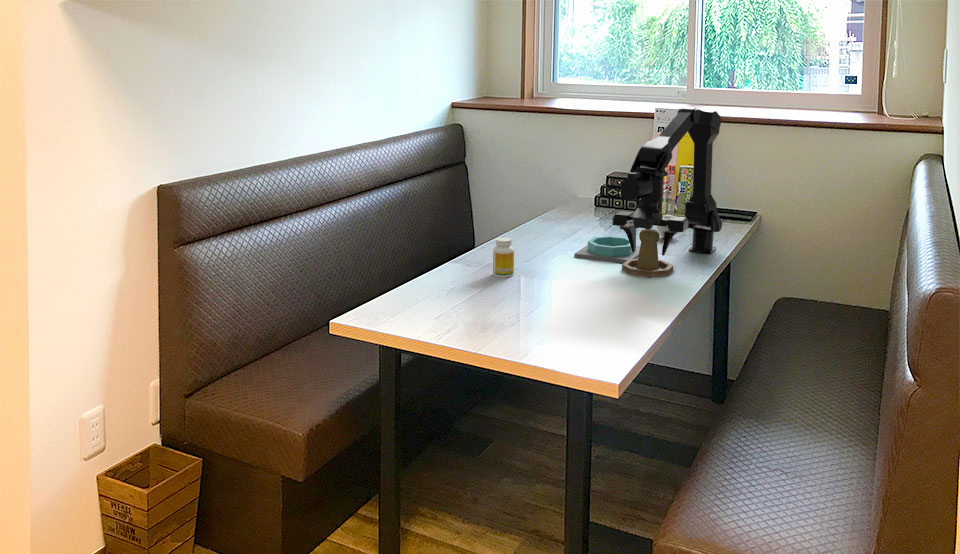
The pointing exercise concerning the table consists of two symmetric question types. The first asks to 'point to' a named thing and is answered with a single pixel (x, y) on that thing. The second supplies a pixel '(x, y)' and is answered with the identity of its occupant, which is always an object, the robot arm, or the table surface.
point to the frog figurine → (663, 228)
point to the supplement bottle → (503, 258)
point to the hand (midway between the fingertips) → (648, 253)
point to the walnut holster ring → (647, 273)
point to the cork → (648, 250)
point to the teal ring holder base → (608, 249)
